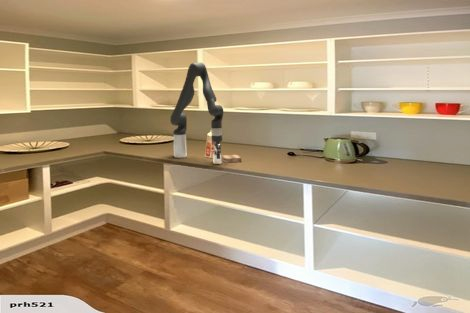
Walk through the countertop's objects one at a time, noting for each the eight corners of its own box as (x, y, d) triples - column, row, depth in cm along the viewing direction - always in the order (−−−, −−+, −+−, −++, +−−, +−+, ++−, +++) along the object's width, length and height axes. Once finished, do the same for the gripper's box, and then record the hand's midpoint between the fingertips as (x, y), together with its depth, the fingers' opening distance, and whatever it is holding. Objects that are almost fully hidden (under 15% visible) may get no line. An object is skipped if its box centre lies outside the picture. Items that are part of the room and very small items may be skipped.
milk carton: (204, 156, 290) (203, 130, 286) (214, 155, 295) (214, 129, 291) (211, 158, 282) (210, 131, 279) (221, 156, 288) (220, 130, 284)
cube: (214, 164, 263) (214, 155, 261) (213, 162, 267) (213, 154, 266) (221, 163, 264) (221, 155, 263) (220, 162, 268) (220, 153, 267)
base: (224, 162, 266) (224, 158, 265) (221, 159, 277) (221, 155, 277) (241, 161, 268) (241, 157, 268) (237, 158, 280) (237, 154, 279)
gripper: (209, 133, 268) (210, 156, 271) (213, 136, 254) (213, 159, 257) (220, 133, 269) (220, 155, 272) (224, 135, 255) (224, 159, 258)
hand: (217, 157), depth 264 cm, fingers open, 8 cm apart
